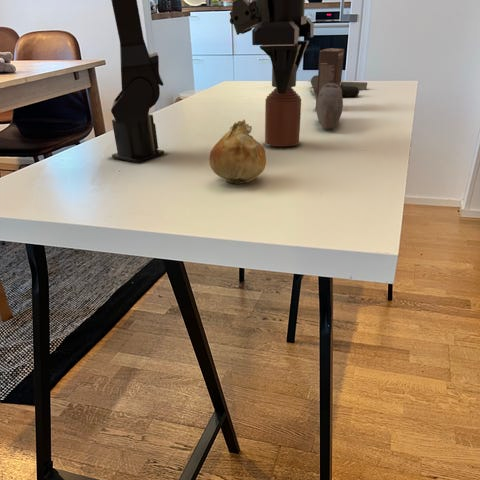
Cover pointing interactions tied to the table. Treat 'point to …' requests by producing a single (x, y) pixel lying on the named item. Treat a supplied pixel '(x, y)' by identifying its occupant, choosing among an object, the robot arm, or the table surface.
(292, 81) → the cap
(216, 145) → the onion
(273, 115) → the bottle
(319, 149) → the table surface
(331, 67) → the box
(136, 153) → the robot arm
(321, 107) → the perforated stone tool
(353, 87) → the door handle
